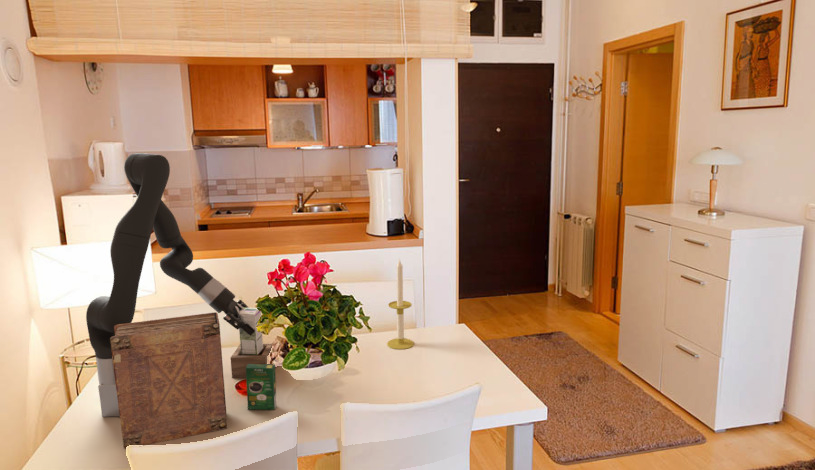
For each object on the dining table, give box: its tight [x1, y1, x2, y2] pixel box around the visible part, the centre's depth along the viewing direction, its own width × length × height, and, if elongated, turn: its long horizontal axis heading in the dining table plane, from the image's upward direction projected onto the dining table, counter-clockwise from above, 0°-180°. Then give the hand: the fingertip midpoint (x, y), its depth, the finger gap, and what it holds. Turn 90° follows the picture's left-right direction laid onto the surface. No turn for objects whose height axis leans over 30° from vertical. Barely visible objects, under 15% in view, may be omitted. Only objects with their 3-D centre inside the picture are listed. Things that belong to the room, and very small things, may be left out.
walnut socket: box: [230, 343, 273, 379], centre depth 182 cm, size 11×11×7 cm
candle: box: [386, 258, 415, 350], centre depth 200 cm, size 10×10×32 cm
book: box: [110, 311, 228, 450], centre depth 144 cm, size 25×9×30 cm, turn 112°
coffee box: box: [245, 363, 277, 411], centre depth 157 cm, size 8×3×13 cm, turn 89°
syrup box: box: [238, 307, 264, 355], centre depth 180 cm, size 6×6×14 cm
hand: (255, 329), depth 180 cm, fingers closed on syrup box, 6 cm apart
